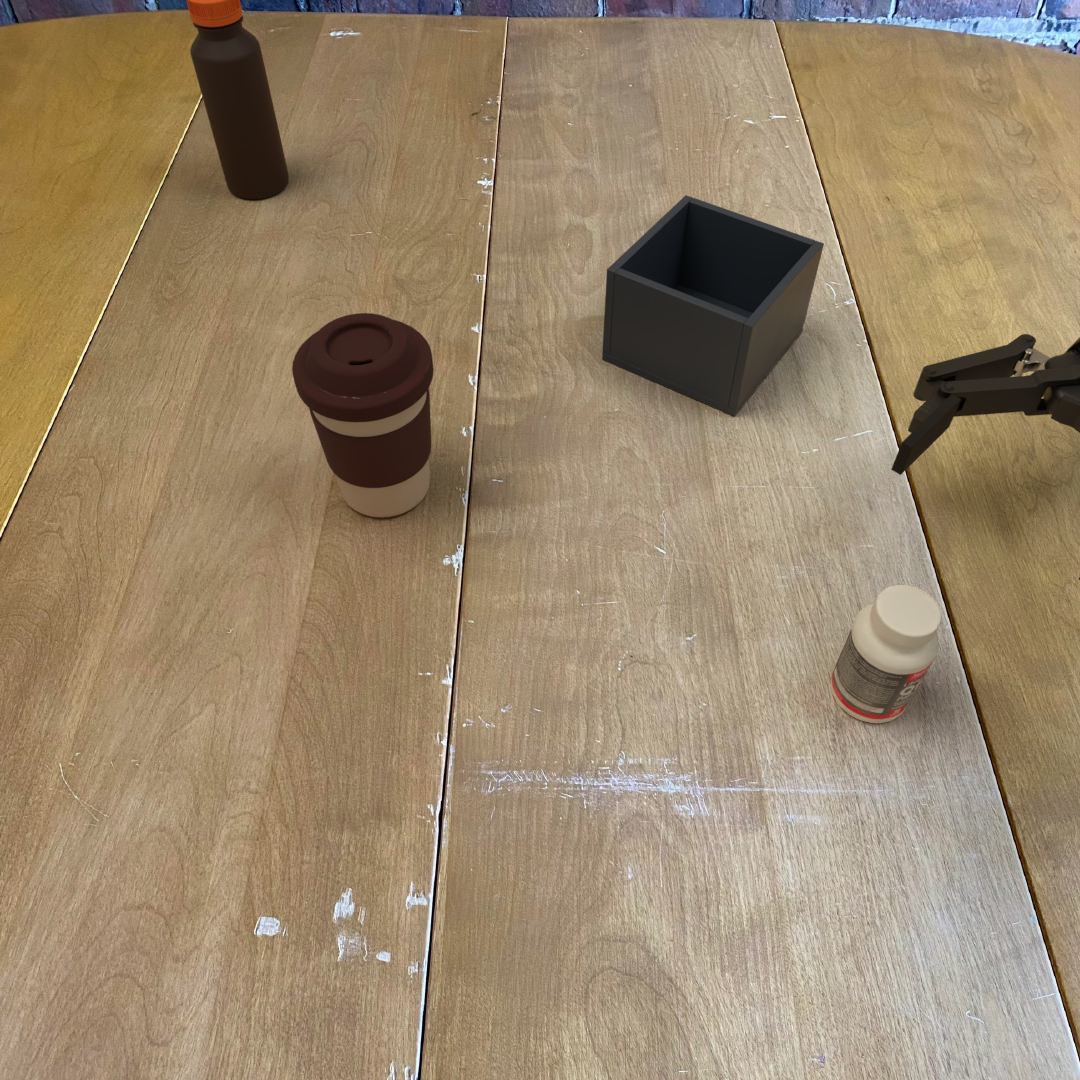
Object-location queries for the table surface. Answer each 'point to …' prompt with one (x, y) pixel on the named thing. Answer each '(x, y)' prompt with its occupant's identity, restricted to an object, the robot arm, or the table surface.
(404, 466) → the coffee cup
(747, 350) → the waste bin
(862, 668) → the pill bottle
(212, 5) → the brown water bottle
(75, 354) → the table surface
